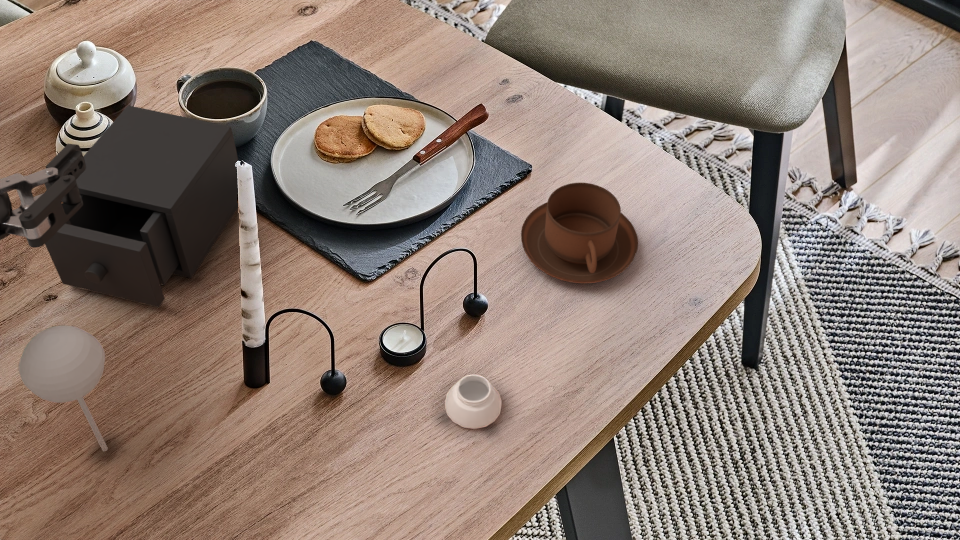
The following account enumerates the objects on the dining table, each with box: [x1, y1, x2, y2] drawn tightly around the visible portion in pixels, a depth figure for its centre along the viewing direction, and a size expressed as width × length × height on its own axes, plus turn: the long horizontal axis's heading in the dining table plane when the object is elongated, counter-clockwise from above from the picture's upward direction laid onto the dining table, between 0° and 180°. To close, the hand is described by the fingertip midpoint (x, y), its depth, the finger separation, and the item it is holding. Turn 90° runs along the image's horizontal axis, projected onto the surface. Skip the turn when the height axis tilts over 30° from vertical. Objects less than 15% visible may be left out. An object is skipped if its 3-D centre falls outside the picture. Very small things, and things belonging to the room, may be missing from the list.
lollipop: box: [18, 324, 109, 452], centre depth 75 cm, size 6×6×15 cm
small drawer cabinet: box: [76, 105, 239, 279], centre depth 96 cm, size 13×12×10 cm
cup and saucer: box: [520, 182, 639, 284], centre depth 96 cm, size 12×12×6 cm
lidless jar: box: [444, 373, 503, 430], centre depth 84 cm, size 5×3×5 cm
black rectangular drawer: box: [44, 194, 180, 308], centre depth 92 cm, size 13×10×8 cm
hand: (29, 146), depth 76 cm, fingers open, 8 cm apart
